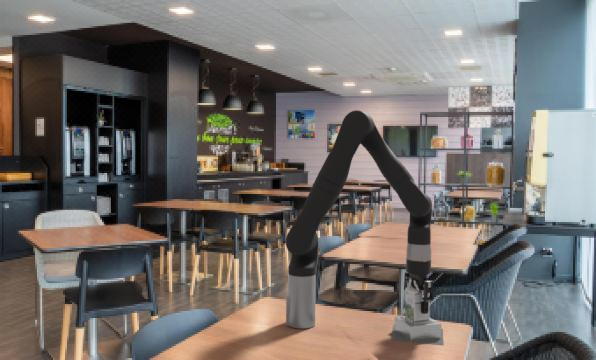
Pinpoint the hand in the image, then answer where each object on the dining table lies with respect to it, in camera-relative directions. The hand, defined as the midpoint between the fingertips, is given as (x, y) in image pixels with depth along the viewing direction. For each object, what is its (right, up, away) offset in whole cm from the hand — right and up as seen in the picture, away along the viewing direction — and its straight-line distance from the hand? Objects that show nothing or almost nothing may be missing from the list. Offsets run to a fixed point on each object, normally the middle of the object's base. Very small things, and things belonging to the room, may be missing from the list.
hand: (417, 309), depth 164 cm
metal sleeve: (0, -8, 0) cm, 8 cm away
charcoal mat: (0, -9, 0) cm, 9 cm away
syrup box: (0, -8, 0) cm, 8 cm away
